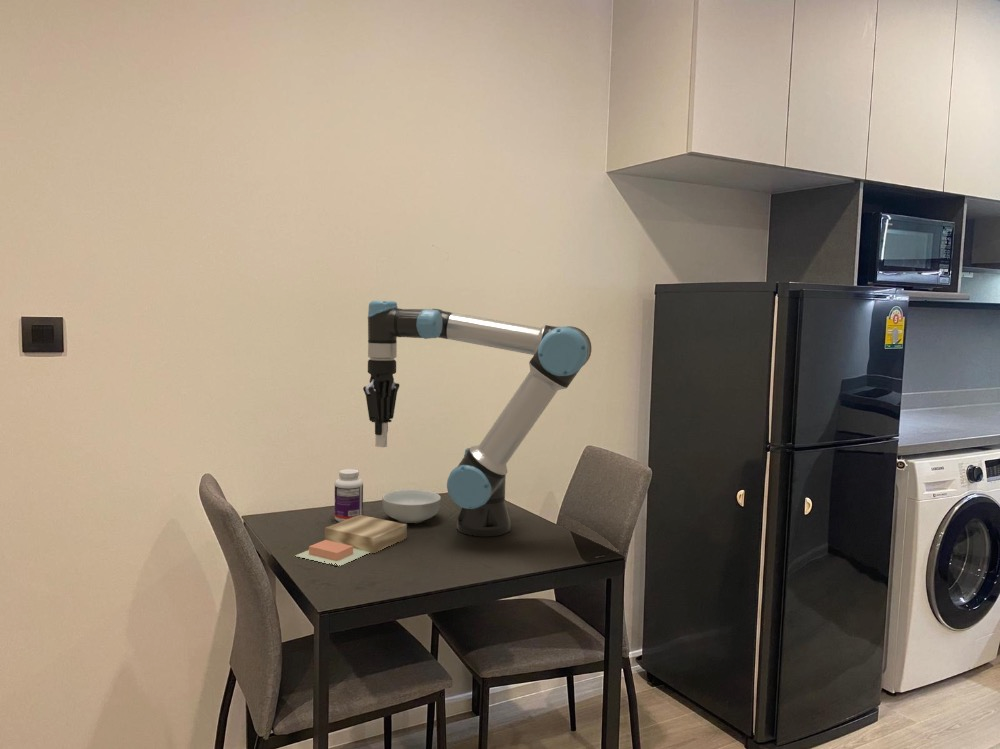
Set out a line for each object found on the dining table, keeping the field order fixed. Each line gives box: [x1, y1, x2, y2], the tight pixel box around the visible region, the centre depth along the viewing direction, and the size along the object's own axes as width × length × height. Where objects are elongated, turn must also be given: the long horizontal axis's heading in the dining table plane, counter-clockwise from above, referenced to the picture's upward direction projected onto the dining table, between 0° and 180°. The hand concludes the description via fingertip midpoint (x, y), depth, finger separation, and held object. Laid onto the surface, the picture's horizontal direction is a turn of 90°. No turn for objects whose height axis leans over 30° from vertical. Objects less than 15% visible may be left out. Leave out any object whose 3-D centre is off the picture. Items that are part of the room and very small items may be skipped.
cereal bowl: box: [381, 488, 442, 524], centre depth 211 cm, size 17×17×7 cm
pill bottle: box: [334, 468, 364, 523], centre depth 209 cm, size 8×8×14 cm
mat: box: [294, 548, 372, 566], centre depth 180 cm, size 14×12×1 cm
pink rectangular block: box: [308, 539, 353, 561], centre depth 180 cm, size 9×6×2 cm, turn 61°
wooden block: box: [324, 514, 408, 554], centre depth 191 cm, size 16×14×4 cm
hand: (381, 446), depth 195 cm, fingers closed
